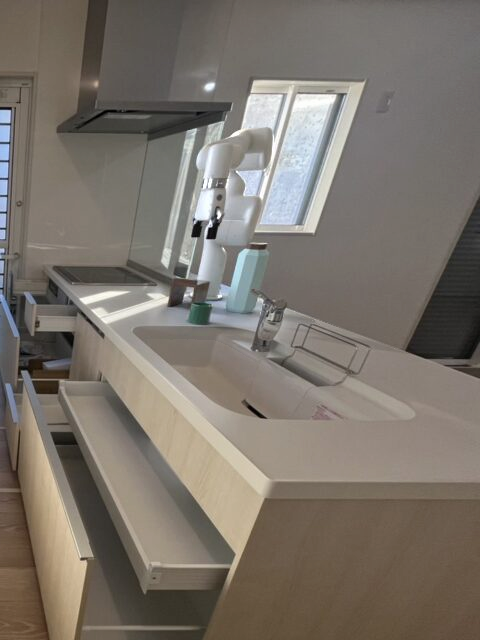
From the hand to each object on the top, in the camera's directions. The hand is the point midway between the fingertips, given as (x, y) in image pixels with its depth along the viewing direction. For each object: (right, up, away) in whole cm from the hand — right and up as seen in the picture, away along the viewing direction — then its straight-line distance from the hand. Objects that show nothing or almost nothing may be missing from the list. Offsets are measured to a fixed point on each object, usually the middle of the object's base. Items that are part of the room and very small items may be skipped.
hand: (202, 238), depth 146 cm
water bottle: (+22, -24, +14) cm, 35 cm away
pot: (-2, -30, 0) cm, 30 cm away
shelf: (+5, -20, +22) cm, 30 cm away
